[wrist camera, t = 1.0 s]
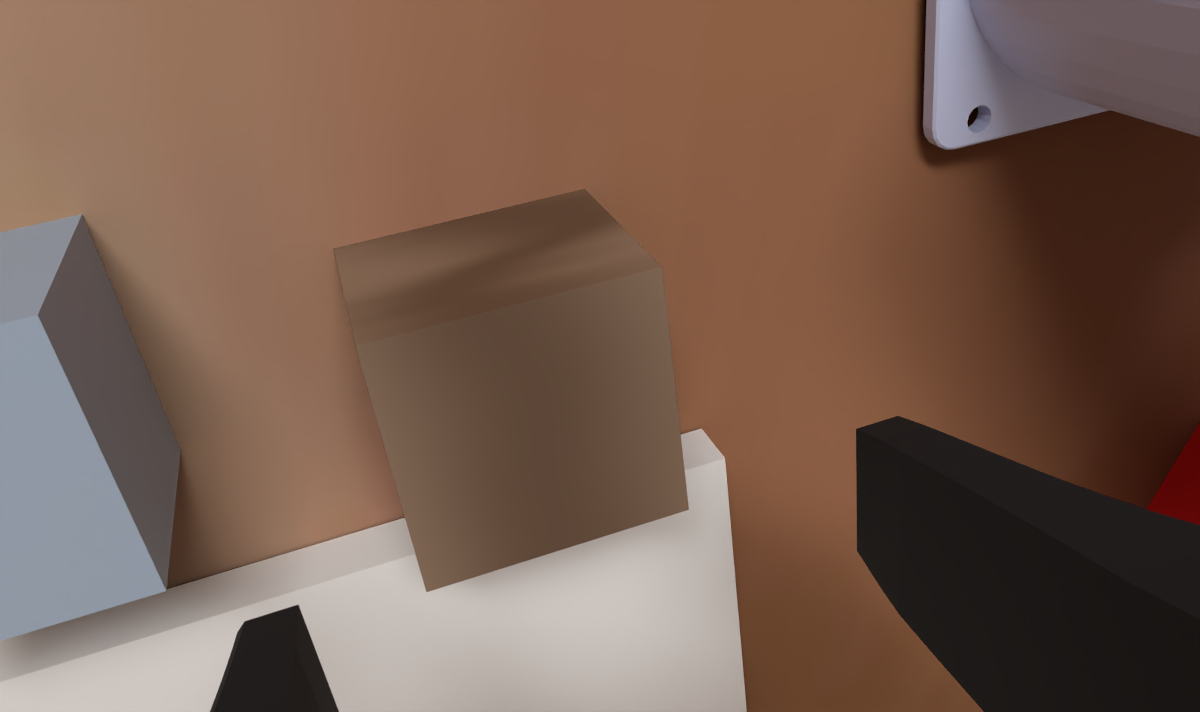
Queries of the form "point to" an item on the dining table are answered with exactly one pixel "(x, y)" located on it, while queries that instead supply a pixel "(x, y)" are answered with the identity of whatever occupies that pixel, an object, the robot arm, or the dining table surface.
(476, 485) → the walnut block
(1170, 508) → the puzzle toy
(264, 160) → the dining table surface
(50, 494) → the slate block
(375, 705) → the baseplate
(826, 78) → the dining table surface
